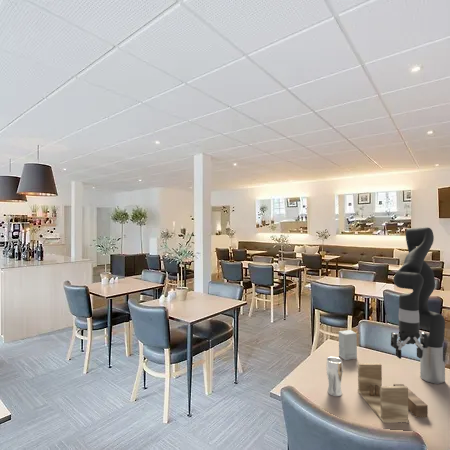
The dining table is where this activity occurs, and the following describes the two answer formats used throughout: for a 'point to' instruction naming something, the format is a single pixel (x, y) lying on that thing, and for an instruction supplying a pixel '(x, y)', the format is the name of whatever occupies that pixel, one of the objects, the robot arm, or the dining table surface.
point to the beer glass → (334, 375)
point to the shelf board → (416, 404)
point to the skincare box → (347, 344)
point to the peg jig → (382, 394)
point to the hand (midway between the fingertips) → (409, 357)
